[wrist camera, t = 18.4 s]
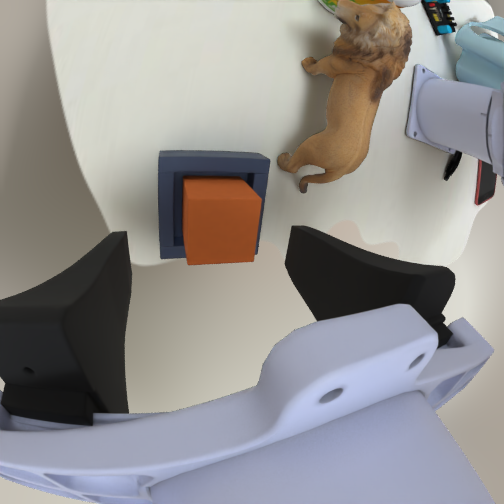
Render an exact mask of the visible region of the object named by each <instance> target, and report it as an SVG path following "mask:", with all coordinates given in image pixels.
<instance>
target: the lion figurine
mask: <svg viewBox="0 0 504 504" xmlns="http://www.w3.org/2000/svg"><path fill="white" fill-rule="evenodd" d="M334 15H335V17H336V18H337V19H338V20H340V21H341V22H342V23H343V24H342V25H341V27H340V32H341V36H340V37H339V38H337V40H336V41H335V42H334V44H335V45H334V47H333V51H332V55H329V56H327V57H324V58H323V59H321V60H319V61H318V62H317V60H315V59H314V58H313V57H309V58H305V59H304V60H303V61H302V65H303V67H304V69H305V70H306V71H307V72H308V73H311V74H312V75H319V74H326V75H327V76H328V77H330V78H334V81H333V83H332V86H331V89H330V92H329V96H328V101H327V107H326V119H327V126H326V128H325V130H324V131H322V132H320V133H317V134H315V135H312V136H311V137H309V138H308V139H306V140H305V141H304V142H303V143H301V144H300V145H299V147H298V148H297V150H296V151H295V153H294V154H293V156H291V155H290V154H289V153H282V154H281V155H280V156H279V157H278V159H277V163H278V166H279V167H280V168H281V169H282V170H284V171H287V172H290V173H296V172H297V171H298V170H299V169H300V168H301V167H302V166H305V165H308V164H310V165H315V166H318V167H321V168H324V169H325V173H322V174H314V175H307V176H304V177H303V178H302V179H301V181H300V183H299V185H298V187H299V189H300V192H301V193H306V192H307V186H308V183H328V182H332V181H335V180H337V179H339V178H341V177H342V176H343V175H345V174H349V173H352V172H353V171H355V170H356V169H357V168H358V167H359V166H360V164H361V163H362V162H363V160H364V159H365V158H366V156H367V153H368V150H369V143H370V135H371V130H372V125H373V122H374V118H375V115H376V112H377V109H378V106H379V102H380V99H381V96H382V93H383V91H384V90H385V89H386V88H388V87H389V86H390V85H391V84H392V82H393V80H395V79H397V78H398V77H399V76H400V74H401V72H402V69H404V68H405V62H407V61H408V56H409V52H410V50H411V49H410V46H411V45H412V40H411V38H412V29H411V27H410V25H409V20H408V19H407V17H406V16H405V15H404V14H403V13H402V12H401V10H400V9H399V8H397V7H396V5H395V3H394V1H392V2H391V3H378V4H364V5H359V4H357V3H354V2H352V1H350V0H339V1H338V2H337V7H336V9H335V13H334Z"/></svg>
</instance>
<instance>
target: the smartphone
mask: <svg viewBox="0 0 504 504" xmlns="http://www.w3.org/2000/svg"><path fill="white" fill-rule="evenodd" d="M496 178H497V174H496V173H494V172H493V165H491V164H489V163H487V162H485V161H482V160H480V159H479V170H478V181H477V190H476V198H475V204H476V205H480V204H482V203H484V202H486V201H487V200H489V199H491V198H492V197H493V195H494V193H495V185H496Z"/></svg>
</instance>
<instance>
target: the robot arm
mask: <svg viewBox="0 0 504 504" xmlns="http://www.w3.org/2000/svg"><path fill="white" fill-rule="evenodd" d="M406 133H407V136H408V137H411V138H413V139H416V140H419V141H421V142H424V143H427V144H429V145H432V146H434V147H437V148H439V149H441V150H444V151H446V152H448V153H451V154H454V153H455V151H456V150H457V151H460V152H463V153H465V154H468V155H470V156H473V157H475V158H478V159H480V160H482V161H485V162H487V163H489V164H491V165H493V172H494V173H496V174H498V175H500V176H501V182H502V184H503V186H504V81H503V82H501V89H494V88H490V87H485V86H480V85H475V84H470V83H464V82H458V81H452V80H444V79H442V78H440V77H439V76H437V75H436V74H434V73H433V72H431V71H430V70H428V69H427V68H425V67H424V66H422V65H420V64H416V65H415V73H414V83H413V91H412V99H411V106H410V113H409V119H408V125H407V131H406ZM285 266H286V269H287V271H288V274H289V276H290V278H291V280H292V282H293V284H294V285H295V287H296V289H297V290H298V292H299V293H300V295H301V296H302V298H303V299H304V301H305V303H306V304H307V306H308V307H309V309H310V310H311V312H312V313H313V315H314V317H315V318H316V320H317V322H314V323H311V324H309V325H306V326H303V327H301V328H298V329H296V330H294V331H292V332H291V333H290V334H288V335H287V336H286V337H284V338H283V339H282V340H280V341H279V342H278V343H276V344H275V345H274V347H273V348H272V350H271V351H270V353H269V355H268V357H267V358H266V360H265V362H264V363H263V365H262V370H261V374H260V378H259V381H258V384H257V385H256V386H254V387H251V388H248V389H245V390H242V391H240V392H236V393H234V394H230V395H228V396H224V397H221V398H218V399H215V400H212V401H208V402H205V403H202V404H198V405H194V406H191V407H187V408H183V409H179V410H176V411H172V412H160V413H138V414H137V413H135V414H134V413H133V414H129V409H128V401H127V391H126V378H125V355H124V354H125V350H124V349H125V347H124V344H125V331H126V323H127V317H128V310H129V304H130V297H131V284H132V270H131V263H130V255H129V247H128V238H127V231H120V232H112V233H110V234H109V235H108V236H107V237H106V238H104V239H103V240H102V241H101V242H100V243H99V244H98V245H97V246H95V247H94V248H93V249H92V250H91V251H90V252H88V253H87V254H86V255H85V256H83V257H82V258H81V259H80V260H78V261H77V262H76V263H75V264H73V265H72V266H71V267H69V268H68V269H66V270H64V271H63V272H61V273H60V274H58V275H57V276H55V277H53V278H51V279H49V280H47V281H46V282H44V283H42V284H40V285H38V286H36V287H34V288H32V289H29V290H27V291H25V292H22V293H19V294H17V295H14V296H11V297H8V298H5V299H2V300H0V377H1V378H2V379H3V381H4V382H5V387H4V391H3V392H2V391H1V390H0V476H1V477H2V478H4V479H6V480H9V481H12V482H15V483H18V484H21V485H24V486H28V487H30V488H34V489H37V490H40V491H44V492H47V493H51V494H55V495H59V496H63V497H67V498H72V499H77V500H81V501H87V502H92V503H99V504H495V502H494V500H493V499H492V497H491V496H490V494H489V492H488V490H487V489H486V487H485V486H484V484H483V482H482V481H481V479H480V477H479V476H478V474H477V473H476V471H475V470H474V468H473V467H472V465H471V463H470V462H469V460H468V459H467V457H466V456H465V454H464V453H463V451H462V450H461V448H460V447H459V445H458V444H457V442H456V441H455V440H454V438H453V437H452V435H451V434H450V432H449V431H448V430H447V428H446V427H445V425H444V424H443V422H442V421H441V419H440V418H439V417H438V415H437V414H436V412H435V411H436V410H438V409H439V408H440V407H441V406H442V405H444V404H445V403H446V402H448V401H449V400H450V399H451V398H453V397H454V396H455V395H456V394H457V393H458V392H460V391H461V390H462V389H464V388H465V387H466V385H467V384H468V383H469V382H470V381H471V380H472V379H473V378H474V376H475V375H476V374H477V373H478V372H479V370H480V369H481V368H482V367H483V365H484V364H485V363H486V361H487V360H488V359H489V358H490V356H491V355H492V353H493V352H494V349H493V348H492V347H491V345H490V344H489V343H488V342H487V341H486V340H485V339H484V338H483V337H482V336H481V335H480V334H479V333H478V332H477V331H476V330H475V329H474V328H473V327H472V326H471V324H469V322H468V321H466V319H464V318H460V319H458V320H456V321H454V322H452V323H450V324H449V325H448V326H446V325H445V324H444V323H443V322H444V321H445V317H444V315H443V314H442V311H443V309H444V307H445V305H446V304H447V302H448V300H449V298H450V296H451V294H452V292H453V289H454V286H455V274H454V273H453V272H452V271H451V270H450V269H449V268H447V267H444V266H434V265H423V264H417V263H411V262H406V261H401V260H397V259H393V258H389V257H385V256H381V255H378V254H375V253H372V252H369V251H366V250H363V249H361V248H358V247H356V246H353V245H351V244H348V243H346V242H344V241H341V240H339V239H337V238H335V237H332V236H330V235H328V234H326V233H323V232H321V231H319V230H316V229H314V228H311V227H308V226H292V227H291V233H290V238H289V243H288V249H287V254H286V259H285Z"/></svg>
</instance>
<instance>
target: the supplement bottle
mask: <svg viewBox="0 0 504 504" xmlns="http://www.w3.org/2000/svg"><path fill="white" fill-rule="evenodd" d="M318 1H319V2H320V3H321V4H322V5H323V6H324V7H325V8H326V9H327V10H328V11H330V12H332V13H333V14H334V13H335V9H336V7H337V2H338V1H339V0H318ZM350 1H352V2H354V3H357V4H359V5H364V4H378V3H391V2H392V1H394V3H395V5H396V7H397V8H404V7H410V6H414V5H417V4H418V3H419V2H420V1H421V0H350Z"/></svg>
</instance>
